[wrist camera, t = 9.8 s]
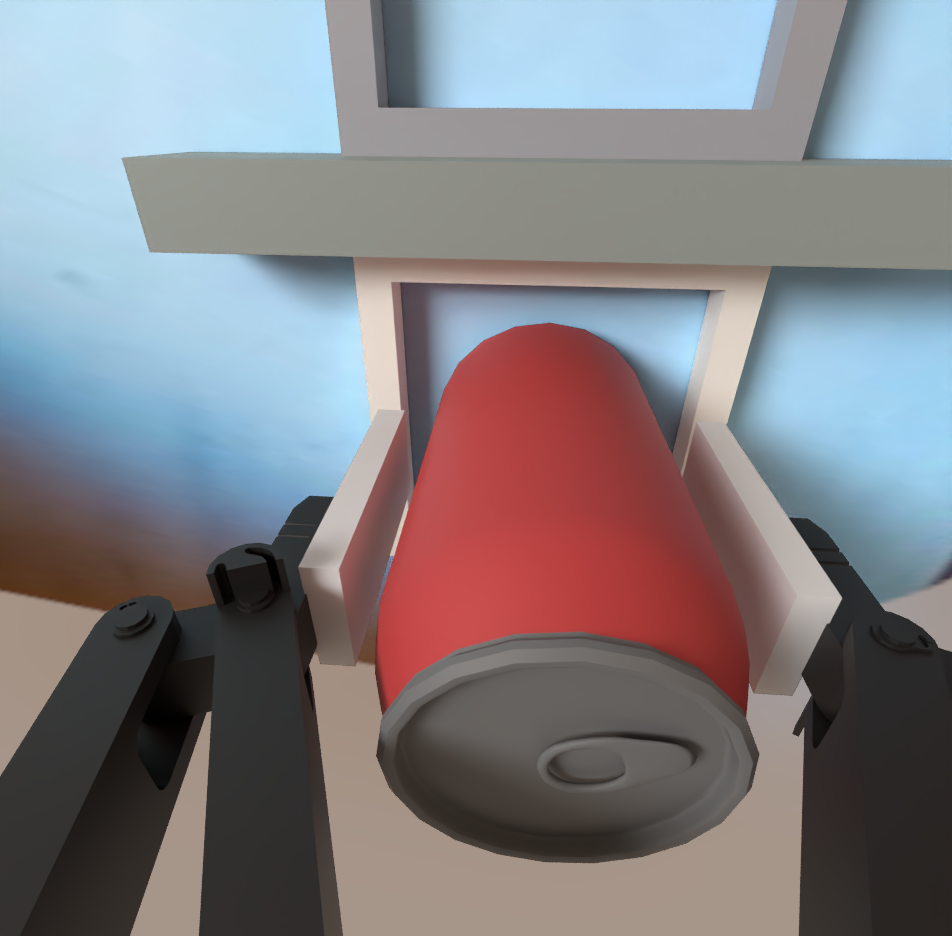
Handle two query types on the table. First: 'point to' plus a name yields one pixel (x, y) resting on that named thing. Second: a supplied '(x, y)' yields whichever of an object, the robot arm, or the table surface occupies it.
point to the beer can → (559, 619)
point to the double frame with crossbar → (561, 201)
